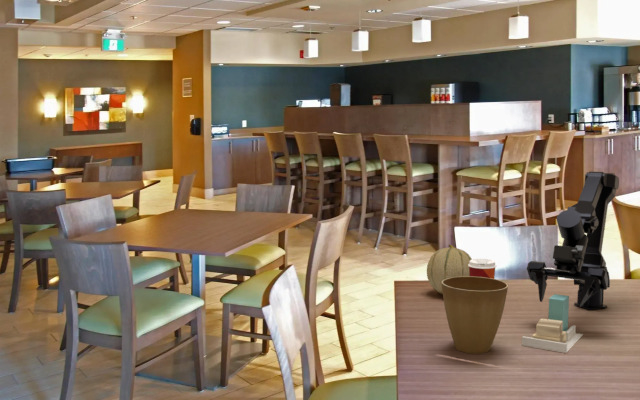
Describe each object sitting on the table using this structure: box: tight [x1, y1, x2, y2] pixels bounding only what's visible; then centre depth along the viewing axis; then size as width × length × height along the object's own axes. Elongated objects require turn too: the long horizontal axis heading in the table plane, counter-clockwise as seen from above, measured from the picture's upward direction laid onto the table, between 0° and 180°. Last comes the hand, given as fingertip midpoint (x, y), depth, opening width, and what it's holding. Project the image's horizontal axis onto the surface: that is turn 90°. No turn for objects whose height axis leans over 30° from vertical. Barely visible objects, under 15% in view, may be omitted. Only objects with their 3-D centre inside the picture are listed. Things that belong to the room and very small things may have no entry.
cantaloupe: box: [426, 244, 473, 295], centre depth 211 cm, size 15×15×15 cm
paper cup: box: [468, 258, 497, 279], centre depth 194 cm, size 8×8×14 cm
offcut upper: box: [535, 318, 563, 338], centre depth 164 cm, size 6×5×2 cm
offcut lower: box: [531, 331, 566, 343], centre depth 164 cm, size 7×6×2 cm
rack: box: [521, 325, 584, 354], centre depth 167 cm, size 16×10×3 cm, turn 146°
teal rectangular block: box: [548, 293, 570, 331], centre depth 170 cm, size 5×3×10 cm
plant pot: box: [442, 276, 509, 355], centre depth 161 cm, size 15×15×16 cm
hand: (559, 303), depth 170 cm, fingers open, 9 cm apart
